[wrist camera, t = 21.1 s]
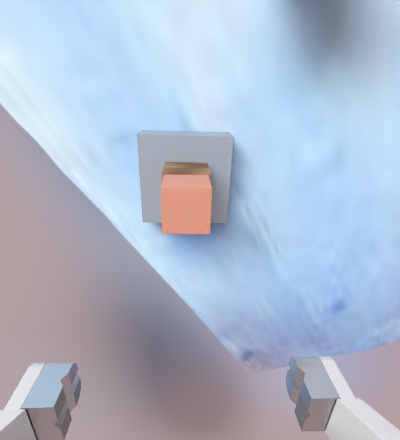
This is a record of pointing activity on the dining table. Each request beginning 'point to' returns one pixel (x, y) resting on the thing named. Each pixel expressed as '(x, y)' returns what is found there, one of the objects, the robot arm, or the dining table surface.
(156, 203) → the plinth
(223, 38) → the dining table surface
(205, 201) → the terracotta cube
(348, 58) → the dining table surface
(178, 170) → the walnut cube
